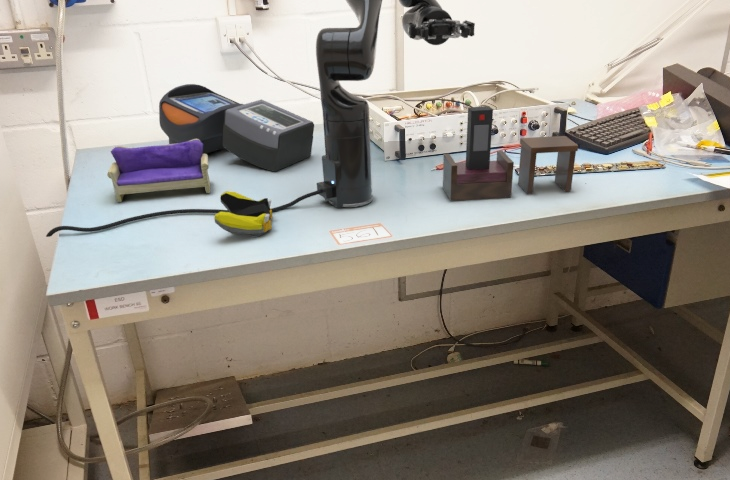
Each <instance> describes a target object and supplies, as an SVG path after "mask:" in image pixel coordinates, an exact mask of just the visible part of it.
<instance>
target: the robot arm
mask: <svg viewBox="0 0 730 480" xmlns="http://www.w3.org/2000/svg"><path fill="white" fill-rule="evenodd" d="M345 2H346V3H347V5H348V6H349V8H350V9H351V11H352V12H353V13H354V15H355V17H356V19H357V21H358V23H359V24H358V26H357V27H325V28H321V29H320V30H319V32H318V33H317V35H316V39H315V40H316V41H315V58H316V68H317V74H318V75H317V76H318V81H319V82H318V83H319V93H320V94H319V95H320V104H321V109H322V123H323V124H322V125H323V138H324V151H325V152H324V153H325V155H322V156H321V164H322V176H323V177H322V178H323V181H319V182H316V190H314V191H311V192H308V193H306V194H303V195H302V196H298V197H297V198H296V199H294V200H292V201H290V202H288V203H286V204H282V205H280V206H275V207H273V208H271V210H272V213H275V212H279V211H282V210H285V209H287V208H291V207H293V206H294V205H296V204H298V203H300V202H301V201H304V200H306V199H308V198H311V197H314V196H317V195H319V196H320V197H321V198H324V201H325V202H326V203H329V204H330V205H332V206H333V207H335V208H336V209H341V208H359V207H362V206H366V205H368V204H371V203H372V202H373V199H374V198H373V187H372V186H373V185H372V184H373V183H372V163H371V162H372V155H371V132H370V131H371V129H370V126H371V125H370V106H369V103H368V102H369V101H367V100H366V99H364V98H363V97H360V96H357V95H355V94H353V93H351V92H349V91H348V90H346V89H345V88H344V87H343V86H342V85H341V82H362V81H366V80H369V78H371V76H372V74H373V72H374V68H375V63H376V56H377V45H378V33H379V23H380V15H381V9H382V5H383V0H345ZM398 2H399V3H400V5H401V6H402V7H403V8H409V9H408V10H406V11H405V12H404V13H403V15H402V18H401V26H402V29H403V31H404V32H405V34H406V35H407V36H408V37H409V38H410V39H411V40H412V39H413V40H414V41H420V40H424V42H426V43H428V44H429V45H432V46H439V45H440V46H441V45H443V44H445V43H446V42H447V41H448V40H449V39H459V38H460V37H462V38H463V39H468V38H469V37H474V36H475V25H476V23H475V22H472V21H470V20H467V19H465V20H463V21H462V22H461V21H460V20H455V19H452V17H451V15H450V14H449V12H448V11H446V10H444V9H443V8H442V6H441V5H440V3H439V2H438V1H437V0H398ZM219 212H229V211H228V210H227V209H216V208H183V209H182V208H181V209H170V210H163V211H162V210H161V211H157V212H155V211H154V212H150V213H145V214H142V215H136V216H132V217H131V216H130V217H127V218H123V219H120V220H118V221H114V222H110V223H107V224H104V225H99V226H93V227H80V226H72V225H59V226H56V227H53V228H52V229H50V230H49V231H48V232H47V234H46V235H45V237H46V238H50V237H52V236H53V235H55V234H56V233H57V232H61V231H74V232H82V233H83V232H84V233H92V232H98V231H99V232H100V231H103V230H107V229H111V228H115V227H117V226H121V225H125V224H127V223H131V222H135V221H140V220H144V219H145V220H146V219H150V218H155V217H161V216H169V215H178V214H217V213H219Z"/></svg>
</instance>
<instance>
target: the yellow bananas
mask: <svg viewBox="0 0 730 480" xmlns="http://www.w3.org/2000/svg"><path fill="white" fill-rule="evenodd" d="M219 198H220V199H219V200H220V203H221V205H222V206H224V208H225V210H228V211H229V212H219V213H215V214H214V218H213V219H214V223H215V224H216V225H217V226H218V227H220V229H222V230H224V231H225V232H228V233H229V234H231V235H249V236H250V237H253V238H255V237H256V238H257V237H260V236H262V235H263V234H264V233H267V232H269V230H272V229H273V226H272V219H273V212H272V210H271V209H272V208H271V204H272V198H268V197H264V198H262V199H260V200H255V199H252V198H251V197H247V196H245V195H242V194H240V193H239V192H236V191H230V190H225V191H224V192H222V193H221V194H220V196H219Z"/></svg>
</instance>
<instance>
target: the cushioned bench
mask: <svg viewBox="0 0 730 480" xmlns="http://www.w3.org/2000/svg"><path fill="white" fill-rule="evenodd" d="M442 157H443V158H442V159H443V160H442V189H443V190H444V192H445V194H446V196H447V198H448V200H449V201H450V202H455V201H456V202H457V201H458V202H459V201H475V200H490V199H491V200H493V199H506V198H507V199H508V198H512V188H513V179H514V178H513V177H514V166H515V165H514V164H515V163H514V161H513V160H512V158H510V157H509V156H508V155H507V154H506V152H505V151H503V150H497V151H496V160H490V166H489V169H476V170H469V169H468V168H467V167H466V161H464V162H463V161H462V162H456V161H455V160H454V159H453V156H451V154H450V153H443V156H442Z"/></svg>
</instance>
